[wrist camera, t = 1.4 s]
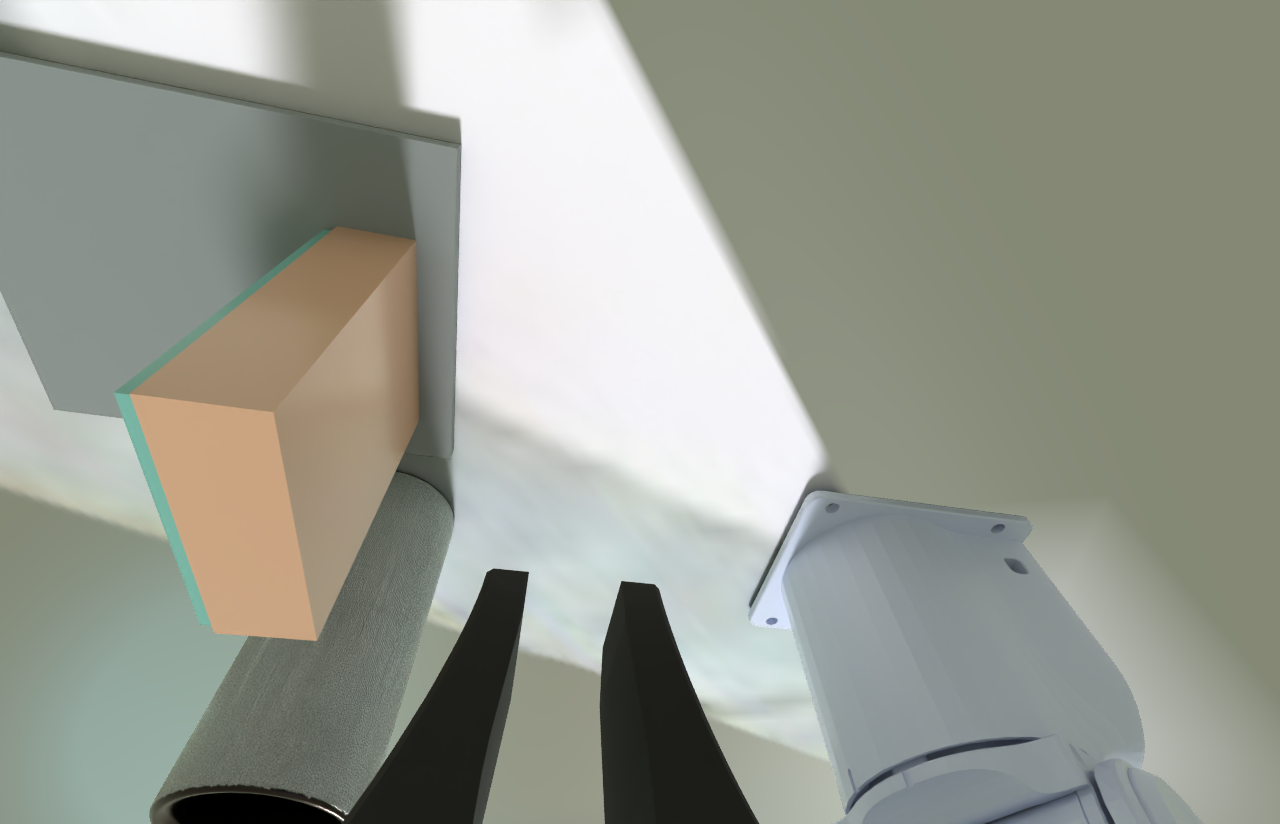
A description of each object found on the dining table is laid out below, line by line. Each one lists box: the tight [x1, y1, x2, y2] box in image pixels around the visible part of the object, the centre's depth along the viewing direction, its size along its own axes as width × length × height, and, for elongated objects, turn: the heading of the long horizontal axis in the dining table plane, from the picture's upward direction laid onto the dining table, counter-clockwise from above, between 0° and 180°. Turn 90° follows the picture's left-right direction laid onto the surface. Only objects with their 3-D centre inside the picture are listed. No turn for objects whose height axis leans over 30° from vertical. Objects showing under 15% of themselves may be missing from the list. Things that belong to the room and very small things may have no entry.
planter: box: [149, 472, 454, 824], centre depth 18 cm, size 4×4×10 cm
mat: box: [0, 51, 461, 459], centre depth 16 cm, size 12×10×1 cm
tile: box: [114, 226, 419, 641], centre depth 14 cm, size 2×6×8 cm, turn 169°
